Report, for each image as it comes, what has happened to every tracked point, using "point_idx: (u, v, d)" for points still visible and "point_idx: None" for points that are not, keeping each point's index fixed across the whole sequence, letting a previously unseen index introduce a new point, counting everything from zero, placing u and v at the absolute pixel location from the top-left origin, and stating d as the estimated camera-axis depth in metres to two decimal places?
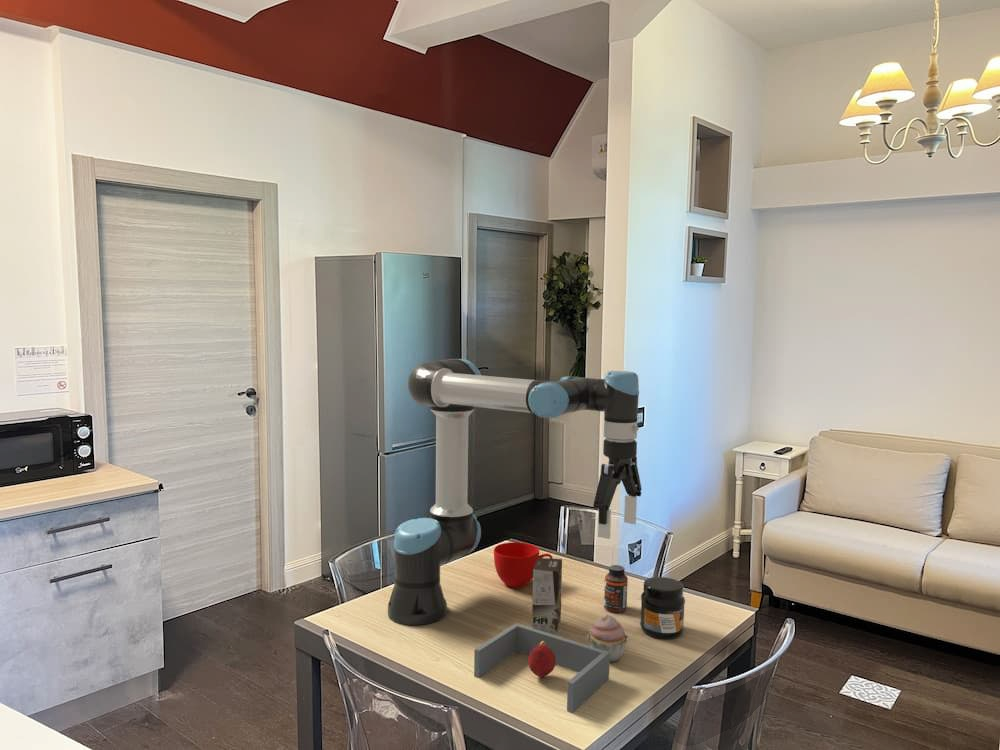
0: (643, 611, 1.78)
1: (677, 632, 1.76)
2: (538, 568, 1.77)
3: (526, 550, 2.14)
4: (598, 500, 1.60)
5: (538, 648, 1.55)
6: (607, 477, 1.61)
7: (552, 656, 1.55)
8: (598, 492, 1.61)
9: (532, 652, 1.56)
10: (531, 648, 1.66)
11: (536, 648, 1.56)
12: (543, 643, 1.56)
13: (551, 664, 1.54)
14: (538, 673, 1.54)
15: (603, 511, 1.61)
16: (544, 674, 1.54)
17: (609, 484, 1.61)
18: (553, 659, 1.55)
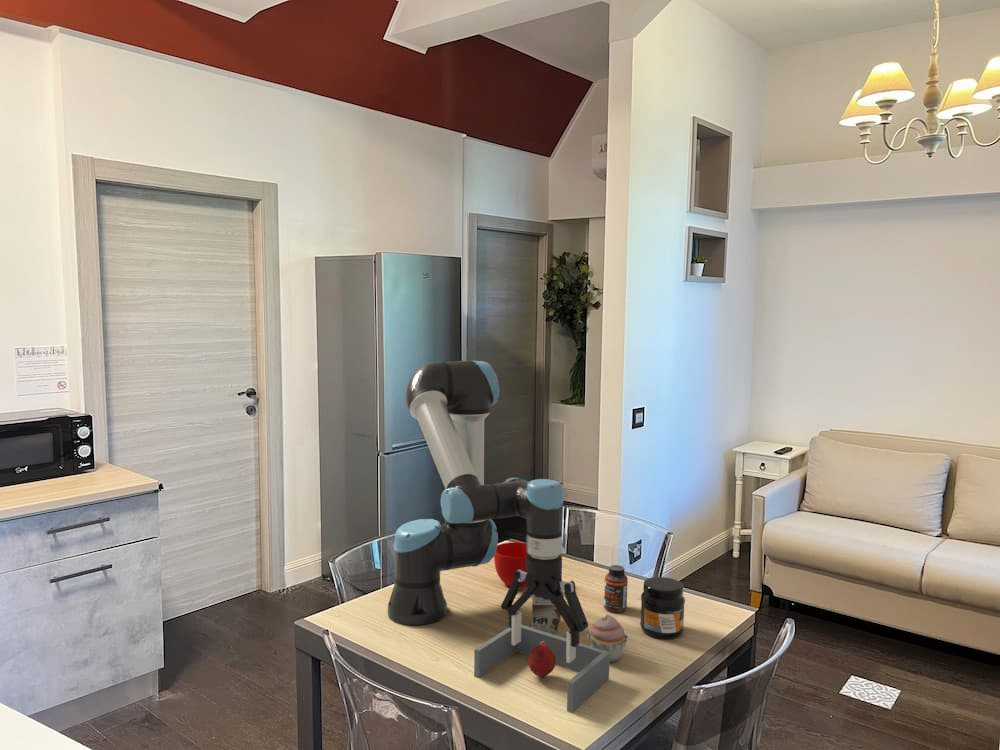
0: (643, 611, 1.78)
1: (677, 632, 1.76)
2: None
3: (526, 550, 2.14)
4: None
5: (537, 648, 1.55)
6: None
7: (552, 656, 1.55)
8: None
9: (532, 652, 1.56)
10: (531, 648, 1.66)
11: (536, 648, 1.56)
12: (543, 643, 1.56)
13: (551, 664, 1.54)
14: (538, 673, 1.54)
15: None
16: (544, 674, 1.54)
17: (511, 589, 1.58)
18: (553, 659, 1.55)
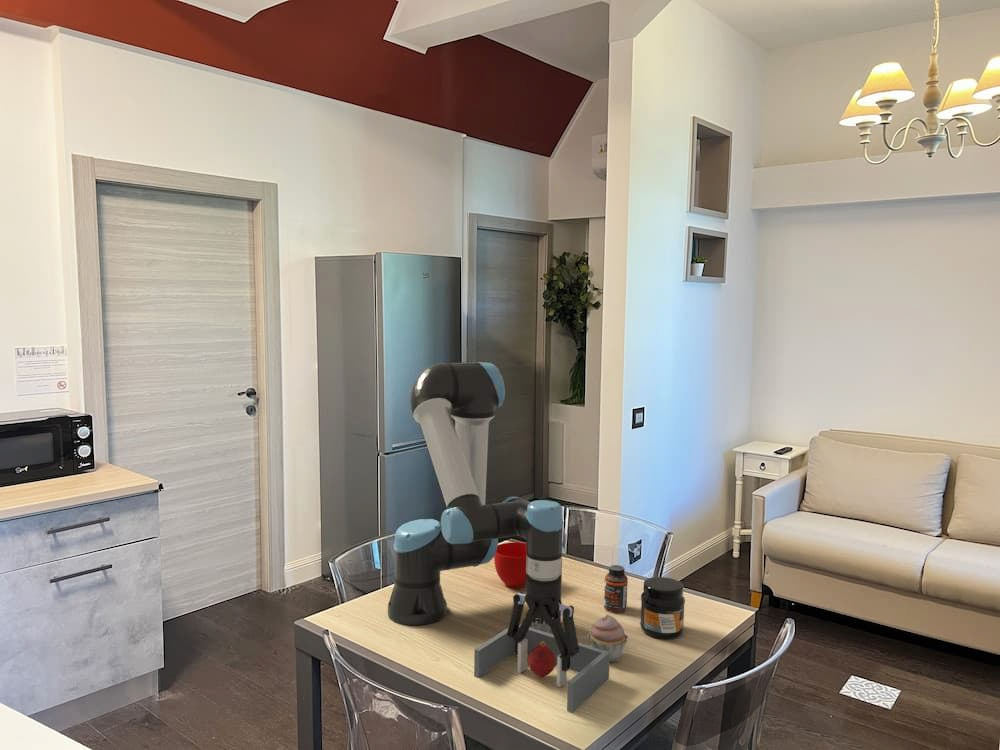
0: (643, 611, 1.78)
1: (677, 632, 1.76)
2: None
3: None
4: None
5: (538, 648, 1.55)
6: None
7: (552, 656, 1.55)
8: None
9: (532, 652, 1.56)
10: (531, 648, 1.66)
11: (536, 648, 1.56)
12: (543, 643, 1.56)
13: (551, 664, 1.54)
14: (538, 673, 1.54)
15: None
16: (544, 674, 1.54)
17: (514, 613, 1.58)
18: (553, 659, 1.55)
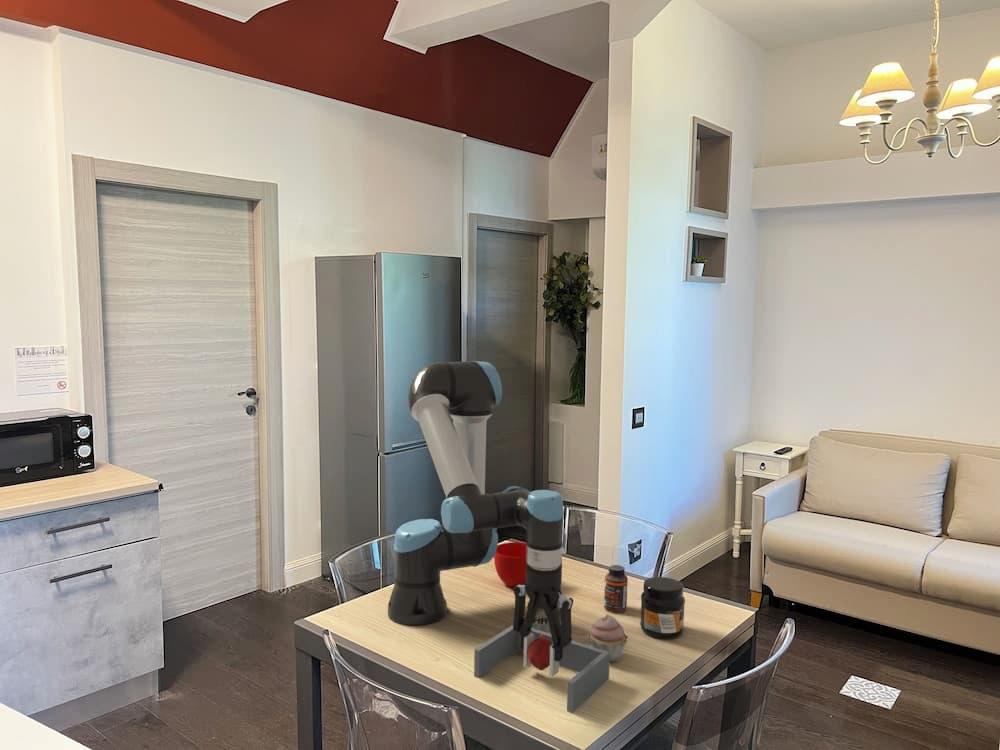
0: (643, 611, 1.78)
1: (677, 632, 1.76)
2: None
3: None
4: None
5: (537, 641, 1.55)
6: None
7: None
8: None
9: (532, 645, 1.56)
10: None
11: (536, 641, 1.56)
12: (543, 636, 1.56)
13: None
14: (538, 665, 1.54)
15: None
16: (543, 667, 1.54)
17: (516, 606, 1.58)
18: None
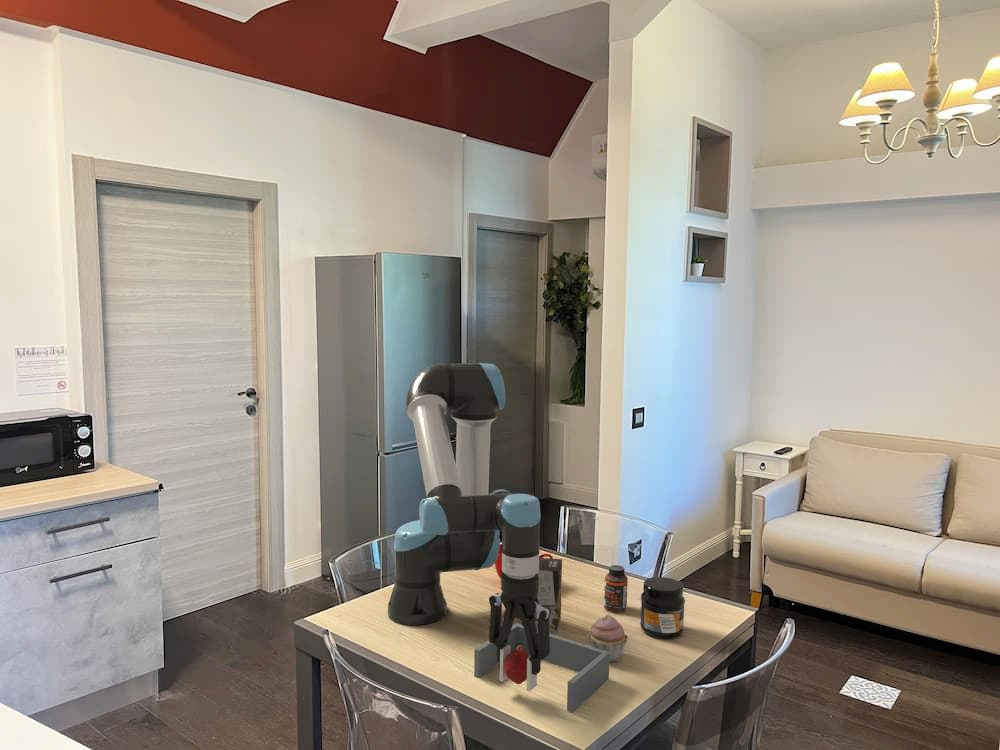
0: (643, 611, 1.78)
1: (677, 632, 1.76)
2: None
3: None
4: None
5: (514, 653, 1.47)
6: None
7: None
8: None
9: (508, 657, 1.48)
10: None
11: (512, 653, 1.48)
12: (520, 647, 1.48)
13: None
14: (514, 679, 1.46)
15: None
16: (521, 680, 1.47)
17: (492, 617, 1.50)
18: None
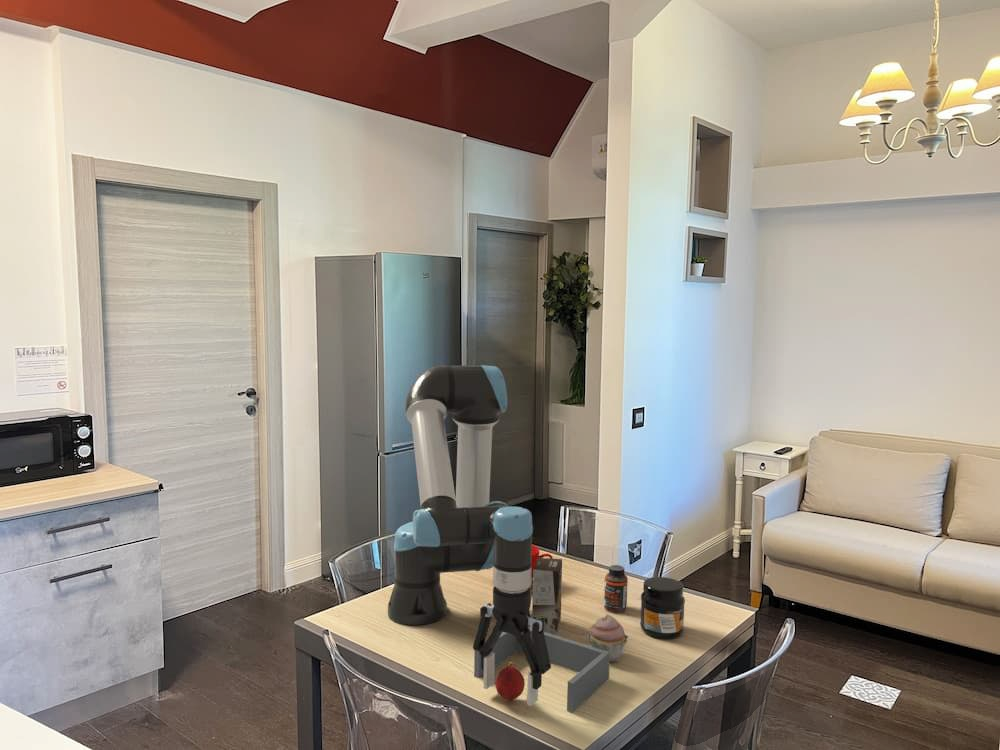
0: (643, 611, 1.78)
1: (677, 632, 1.76)
2: (538, 568, 1.77)
3: None
4: None
5: (505, 670, 1.46)
6: None
7: (521, 678, 1.46)
8: None
9: (499, 674, 1.46)
10: None
11: (504, 670, 1.46)
12: (511, 664, 1.46)
13: (519, 687, 1.45)
14: (505, 696, 1.45)
15: None
16: (512, 698, 1.45)
17: (480, 626, 1.48)
18: (522, 681, 1.45)
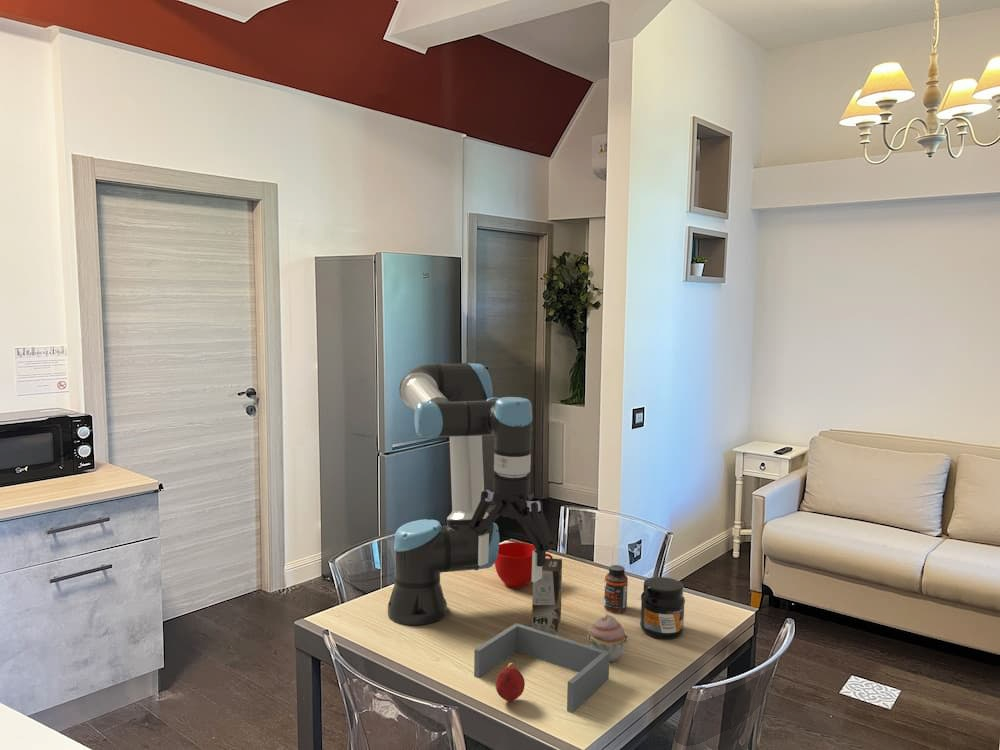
0: (643, 611, 1.78)
1: (677, 632, 1.76)
2: None
3: (526, 550, 2.14)
4: None
5: (505, 671, 1.46)
6: None
7: (521, 679, 1.45)
8: None
9: (499, 675, 1.46)
10: (531, 648, 1.66)
11: (504, 670, 1.46)
12: (511, 665, 1.46)
13: (519, 688, 1.45)
14: (505, 697, 1.44)
15: None
16: (512, 699, 1.45)
17: (478, 509, 1.55)
18: (522, 682, 1.45)
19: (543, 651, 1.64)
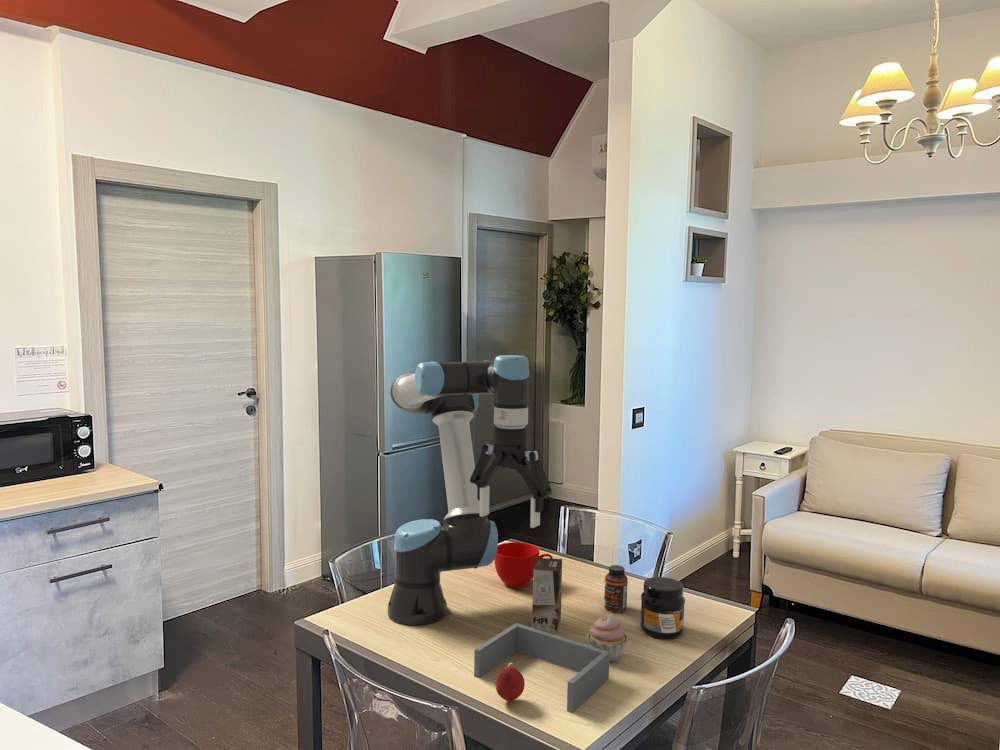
0: (643, 611, 1.78)
1: (677, 632, 1.76)
2: (538, 568, 1.77)
3: (526, 550, 2.14)
4: None
5: (505, 671, 1.46)
6: None
7: (520, 679, 1.45)
8: None
9: (499, 675, 1.46)
10: (531, 648, 1.66)
11: (504, 670, 1.46)
12: (511, 665, 1.46)
13: (519, 687, 1.45)
14: (505, 697, 1.44)
15: None
16: (512, 698, 1.45)
17: (479, 462, 1.64)
18: (522, 682, 1.45)
19: (543, 651, 1.64)
